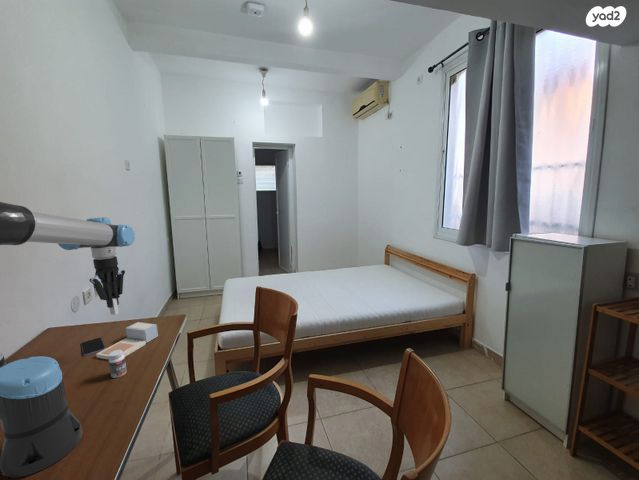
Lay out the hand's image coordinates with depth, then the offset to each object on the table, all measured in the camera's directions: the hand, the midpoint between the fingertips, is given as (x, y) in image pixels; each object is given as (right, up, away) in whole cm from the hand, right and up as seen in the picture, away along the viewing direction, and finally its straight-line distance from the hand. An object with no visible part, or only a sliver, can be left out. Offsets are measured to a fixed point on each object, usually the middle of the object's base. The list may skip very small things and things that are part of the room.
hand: (114, 313), depth 117 cm
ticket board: (+1, -16, +3) cm, 16 cm away
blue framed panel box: (+4, -14, +13) cm, 19 cm away
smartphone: (-15, -17, +8) cm, 23 cm away
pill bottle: (+11, -19, -13) cm, 25 cm away
